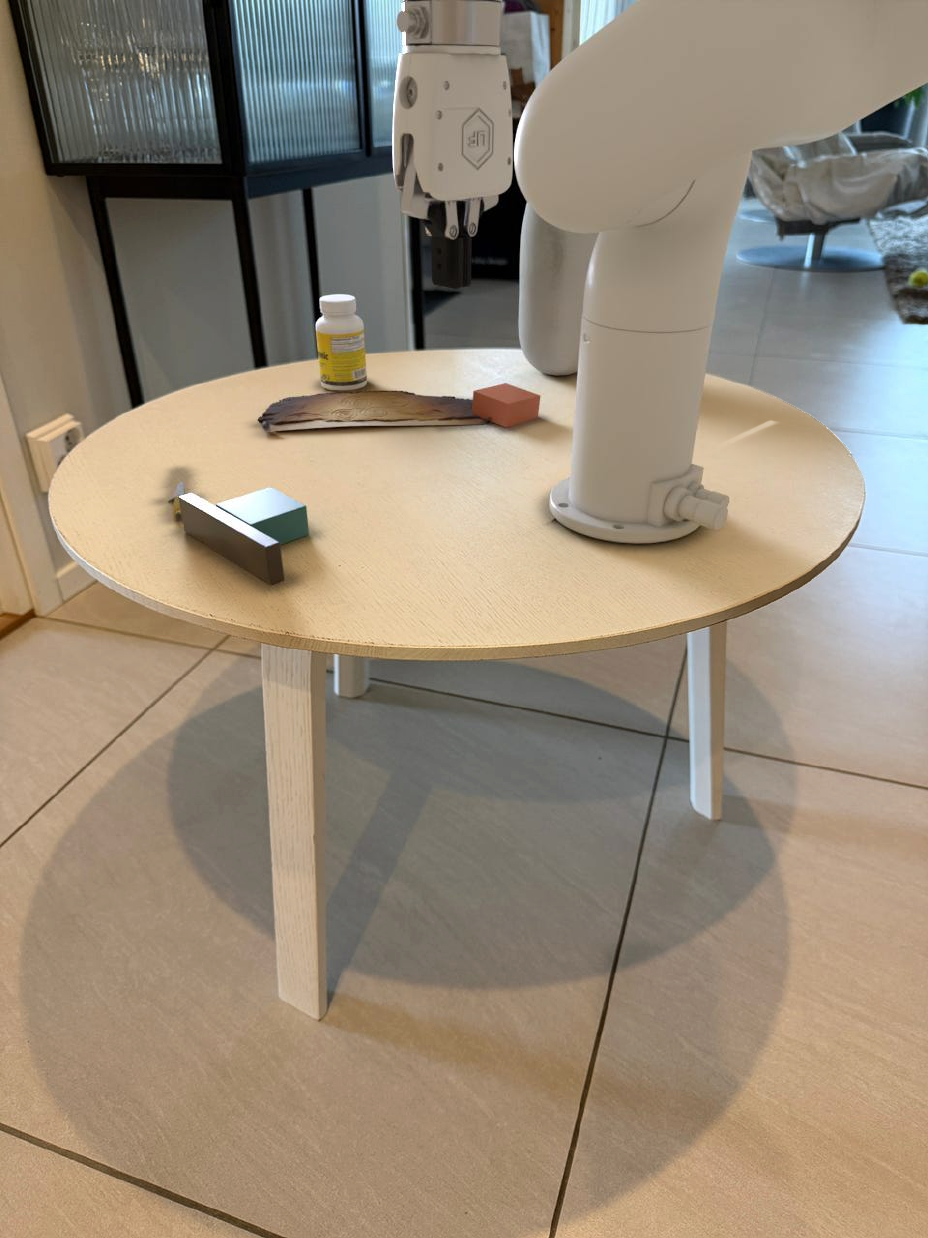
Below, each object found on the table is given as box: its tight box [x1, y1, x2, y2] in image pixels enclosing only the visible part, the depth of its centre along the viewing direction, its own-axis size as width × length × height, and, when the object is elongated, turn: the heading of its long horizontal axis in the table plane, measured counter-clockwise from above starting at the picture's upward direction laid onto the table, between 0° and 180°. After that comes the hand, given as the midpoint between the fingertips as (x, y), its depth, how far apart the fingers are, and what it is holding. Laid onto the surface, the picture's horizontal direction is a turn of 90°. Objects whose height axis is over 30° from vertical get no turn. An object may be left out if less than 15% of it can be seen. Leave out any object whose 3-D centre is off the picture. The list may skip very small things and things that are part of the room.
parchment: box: [257, 389, 491, 433], centre depth 92 cm, size 25×10×1 cm, turn 98°
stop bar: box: [178, 492, 285, 586], centre depth 65 cm, size 12×1×3 cm, turn 45°
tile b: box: [472, 382, 541, 429], centre depth 91 cm, size 5×5×2 cm
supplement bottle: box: [315, 293, 368, 391], centre depth 99 cm, size 5×5×10 cm
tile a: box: [215, 486, 310, 546], centre depth 68 cm, size 5×5×2 cm
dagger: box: [167, 481, 185, 521], centre depth 75 cm, size 11×1×2 cm
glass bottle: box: [518, 201, 599, 377], centre depth 99 cm, size 10×10×28 cm
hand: (451, 284), depth 76 cm, fingers closed
